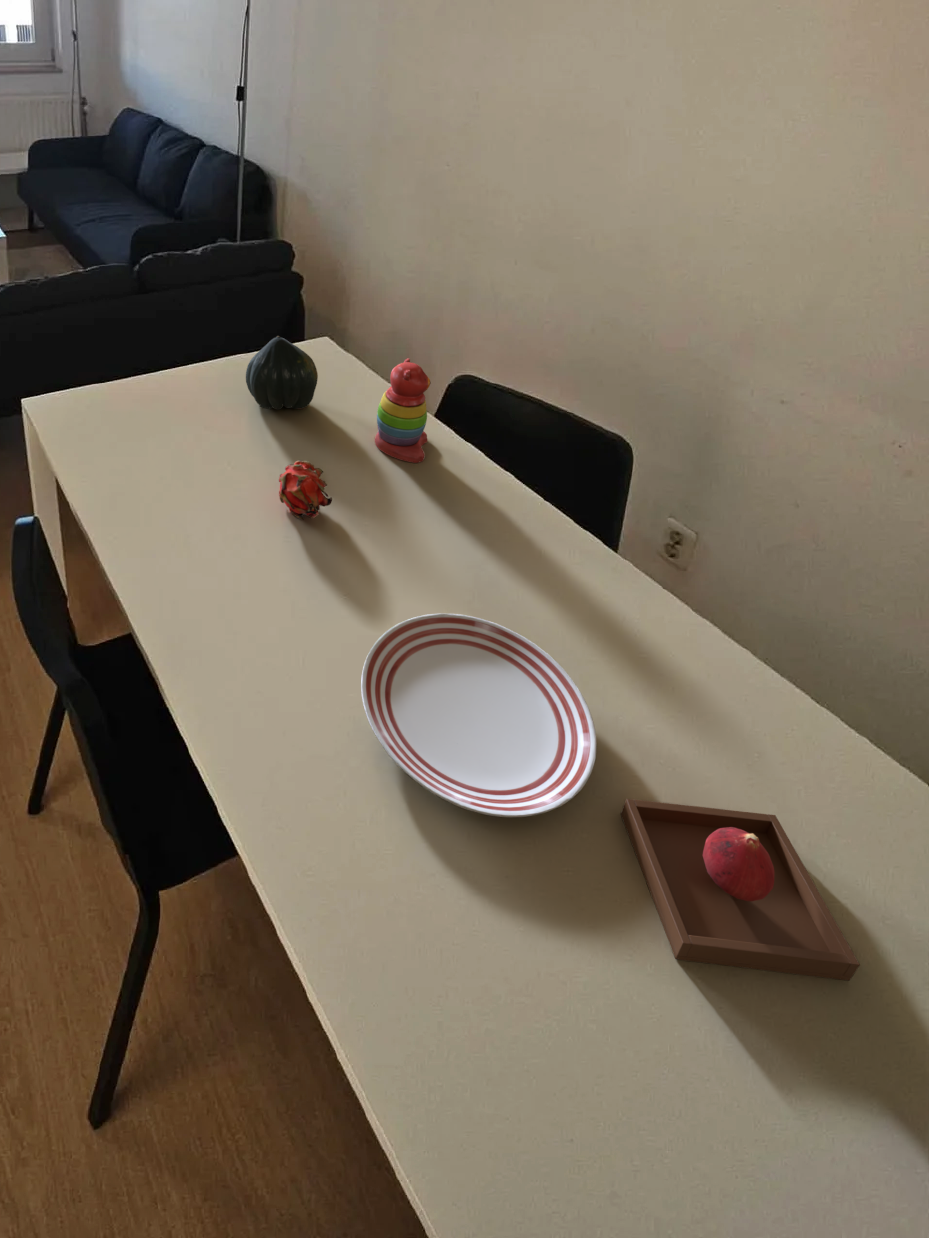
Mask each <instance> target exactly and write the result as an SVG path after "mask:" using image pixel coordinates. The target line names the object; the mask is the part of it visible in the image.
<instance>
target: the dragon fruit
mask: <svg viewBox="0 0 929 1238" xmlns="http://www.w3.org/2000/svg"><path fill="white" fill-rule="evenodd" d="M284 470H285V471H284V472H283V473H280V474H279V477H278V482H279V491H278V497H279V501H280V502H281V503H282V504H285V506H286V507H287V508H288V509H289V511H290V512H291V513H292V515H293V516H295V517H296V518H297V519H300V520H301V521H304V517H303V516H304V515H306V516H307V517H309V518H310V519H314V518H316V517H317V516H318V515H320V512H319V511H320V509H321V508H320V506H321V507H323V508H324V507H328V506H330V505H331V504H332V502H333V497H329V494H328V493H327V492H326V491H325V488H326V487H328V483H327V482H326V481H325V480H323V479H322V478H321V476H322V475H323V473H324V470H323V469H322V468H321V467H315V465H314V464H313V463H312V462H311V461H309V460H301V459H298V460H296V461H295V462H294V463H293V464H292V463H291V464H288V465H287V466H285V468H284Z"/></svg>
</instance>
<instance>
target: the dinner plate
mask: <svg viewBox="0 0 929 1238" xmlns="http://www.w3.org/2000/svg"><path fill="white" fill-rule="evenodd" d="M360 691H361V701H362V705H363V708H364V712H365V716H366V718H367V721H368V723H369V725H370V727H371V730H372V732H373V734H374V735H375V738H376V739H377V740H378V742H379V744H380V745H381V746H382V748H383V750H384V751H385V752H386V753H387V755H388V756H389V757H390V758H391V759H392V761H394V763H395V764H396V765H397V766H398V767H399V768H400V769H401V770H402V771H403V772H404V773H405V774H407V775H408V776H409V777H410V778H411V779H412V780H414V781H415V782H416V783H418V784H419V785H420V786H422V787H423V788H424V789H426V790H427V791H428V792H430V793H432V794H433V795H435V796H437V797H438V798H440V799H442V800H444V801H446V802H448V803H450V804H453V805H454V806H457V807H459V808H462V809H464V810H467V811H471V812H474V813H476V814H477V813H478V814H482V815H487V816H493V817H498V818H500V817H502V818H525V817H532V816H537V815H541V814H545V813H547V812H550V811H552V810H556V809H557V808H559V807H562V806H563V805H565V804H566V803H568V802H569V801H571V800H572V799H573V798H574V797H575V796H576V795H578V794H579V792H581V791H582V789H583V788H584V787H585V785H586V784H587V782H588V781H589V778H590V777H591V774H592V772H593V769H594V767H595V763H596V757H597V747H598V746H597V733H596V728H595V723H594V719H593V716H592V714H591V711H590V708H589V705H588V704H587V701H586V699H585V697H584V695H583V693H582V692H581V690H580V689H579V687H578V686H577V684H576V683H575V682H574V680H573V678H572V677H571V676H570V675H569V673H568V672H567V671H566V670H565V668H563V666H561V664H560V663H559V662H558V661H557V660H555V659H554V658H553V657H552V656H551V655H550V654H549V653H548V652H547V651H545V650H544V649H543V648H541V647H540V646H539V645H537V644H536V643H534V642H533V641H531V640H530V639H529V638H527V637H525V636H524V635H521V634H519V633H518V632H516V631H514V630H512V629H510V628H508V627H505V626H503V625H501V624H499V623H496V622H493V621H490V620H487V619H485V618H484V619H483V618H481V617H476V616H472V615H466V614H460V613H430V614H422V615H417V616H414V617H412V618H408V619H405V620H403V621H401V622H399V623H397V624H394V626H392V627H390V628H389V629H387V630H386V631H385V632H384V633H383V634H381V636H380V637H379V638H378V639H377V640H376V641H375V642H374V644H373V646H372V647H371V648H370V650H369V652H368V654H367V655H366V658H365V660H364V663H363V667H362V672H361V680H360Z"/></svg>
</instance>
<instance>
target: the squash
mask: <svg viewBox="0 0 929 1238" xmlns="http://www.w3.org/2000/svg"><path fill="white" fill-rule="evenodd" d="M246 367H247V368H246V370H245V383H246V386H247V389H248V391H249V393H250V395H251V396H252V397H253V398H254V400H255V402H256V404H257V405H258V406H260V407H261V408H264V409H275V410H281V409H282V408H283V407H285V408H286V409H291V408H292V409H296V410H300V409H301V410H302V409H304V408H307V407H308V406H309V405H310V404H311V402H312V401H313V399H314V396H315V392H316V388H317V385H318V379H319V378H318V377H319V374H318V369H317V366H316V364H315V362H314V360H313V358H312V357H311V356H310V355H309V354H308V353H307V352H305V351H304V350H302V349H301V348H300V347H298V346H297V345H295V344H294V343H292V342H291V341H288V340H287V339H285V338H283V337H281V336H280V335H277V336H275V337H273V338H272V339H270V340H269V342H267V344H265V345H264V346H263V347H262V348H260V350H259V351H257V352H256V354H255V355H254V356H253V357H252V358H250V360H249V362H248V364H247V366H246Z"/></svg>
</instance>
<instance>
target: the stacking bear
mask: <svg viewBox="0 0 929 1238" xmlns="http://www.w3.org/2000/svg"><path fill="white" fill-rule="evenodd" d="M389 377H390V380H389V381H390V386H389V388H387V389H386V390H385V391H384V392H383V395H382V396H381V399H380V402H379V404H378V407H377V411H376V413H377V414H376V425H377V432H376V434H375V436H374V445H375V446H376V447H377V449H378V450H380V451H381V452H383V453H385V454H386V455H388V456H390V457H392V458H394V459H397V460H401V461H404V462H409V463H412V464H413V463H414V464H418V463H422V462H423V461H424V459H425V458H426V457H425V456H426V454H425V451H424V449H423V446H424V445H425V444H426V443H427V442H428V434H427V433H426V431H425V428H426V425H427V421H428V410H427V402H426V395H425V392H426V391H427V390H428V389H429V388H430V385H431V384H432V383H431V379H430V377H429V376H428V375H427V374H426V373H425V371H424V370H423V368H422V367H421V366H420V365H419V364H418V363H415V362H411V358H406V359H404V361H403V362H400V363H398V364H396V366H394V367H393V368H392V370H391V372H390V376H389Z"/></svg>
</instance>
